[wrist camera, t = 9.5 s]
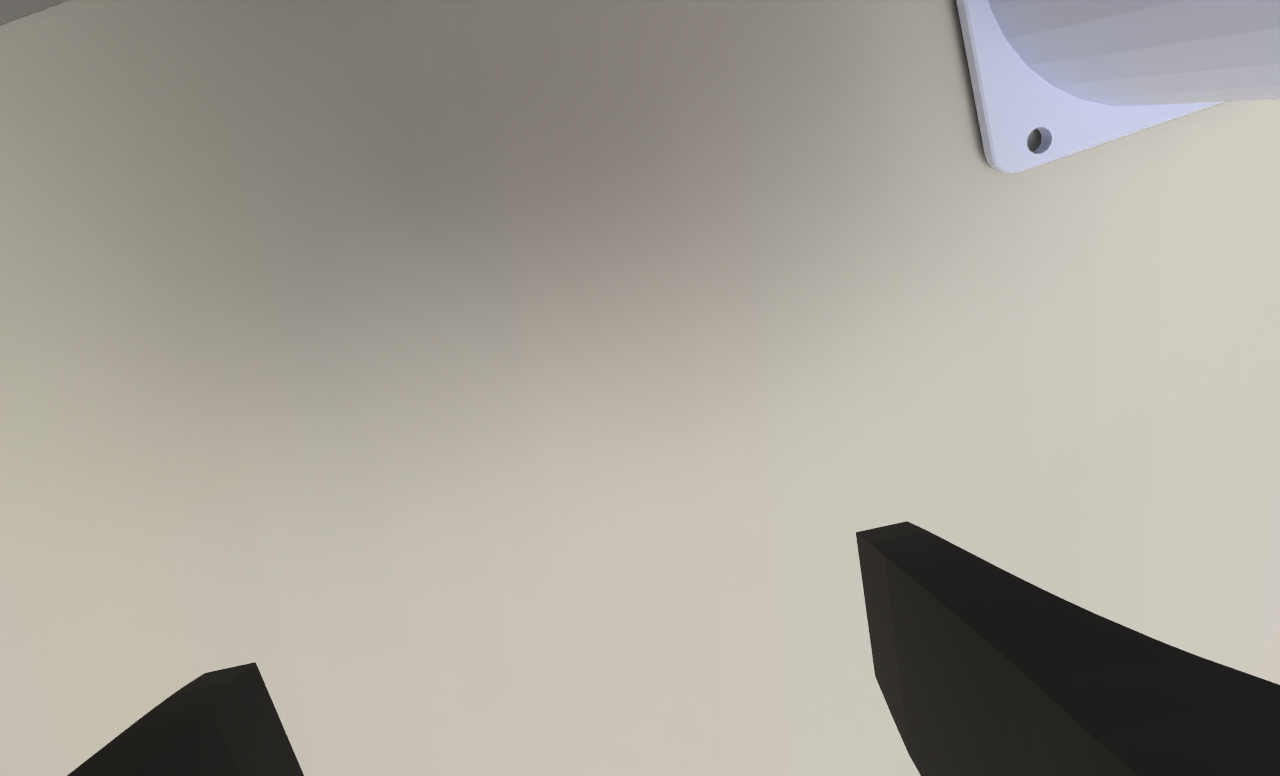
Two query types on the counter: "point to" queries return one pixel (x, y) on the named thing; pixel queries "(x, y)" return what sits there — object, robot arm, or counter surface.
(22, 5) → the outlet box
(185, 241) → the counter surface
